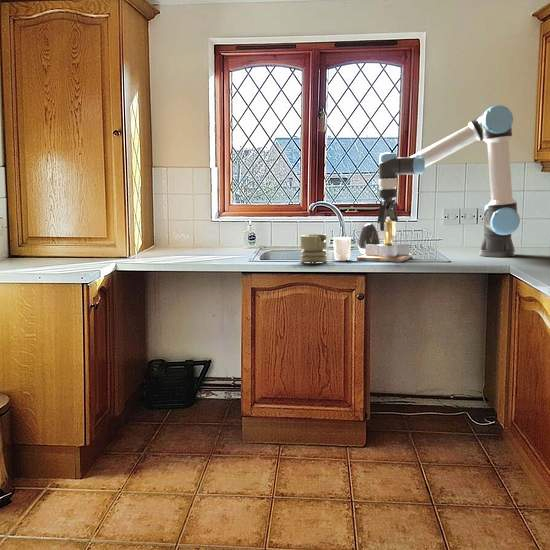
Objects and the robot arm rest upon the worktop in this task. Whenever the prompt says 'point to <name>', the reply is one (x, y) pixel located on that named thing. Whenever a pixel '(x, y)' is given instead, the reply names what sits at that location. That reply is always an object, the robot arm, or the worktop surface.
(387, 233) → the pin
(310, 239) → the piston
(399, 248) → the white piece
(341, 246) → the white cup
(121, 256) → the worktop surface
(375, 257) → the mount board
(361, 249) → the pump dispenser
